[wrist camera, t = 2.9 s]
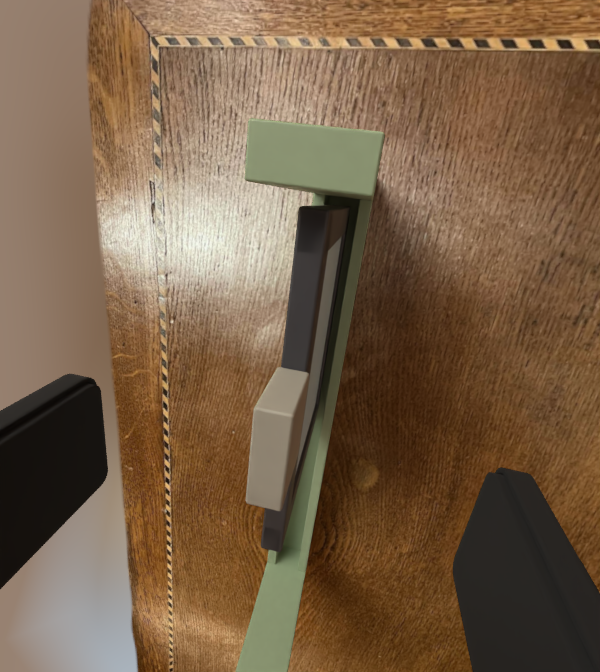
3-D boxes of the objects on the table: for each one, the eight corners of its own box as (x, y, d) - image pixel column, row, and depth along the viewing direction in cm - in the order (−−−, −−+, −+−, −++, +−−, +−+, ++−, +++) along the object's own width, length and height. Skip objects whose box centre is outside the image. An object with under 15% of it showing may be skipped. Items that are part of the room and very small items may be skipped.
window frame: (275, 541, 29) (207, 777, 17) (324, 170, 20) (247, 117, 7) (309, 550, 29) (265, 797, 17) (376, 176, 19) (385, 131, 7)
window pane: (303, 408, 23) (234, 615, 11) (333, 204, 18) (270, 206, 7) (319, 411, 23) (266, 624, 11) (352, 206, 18) (321, 212, 7)
